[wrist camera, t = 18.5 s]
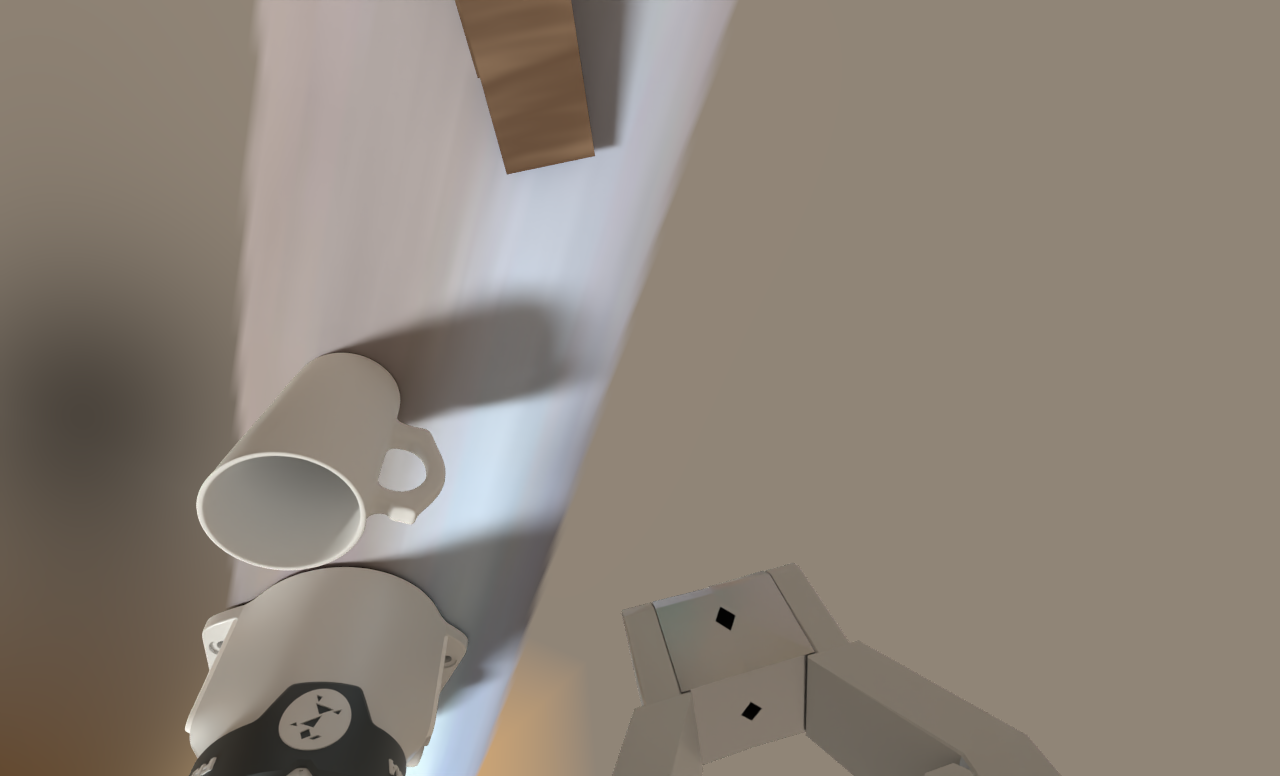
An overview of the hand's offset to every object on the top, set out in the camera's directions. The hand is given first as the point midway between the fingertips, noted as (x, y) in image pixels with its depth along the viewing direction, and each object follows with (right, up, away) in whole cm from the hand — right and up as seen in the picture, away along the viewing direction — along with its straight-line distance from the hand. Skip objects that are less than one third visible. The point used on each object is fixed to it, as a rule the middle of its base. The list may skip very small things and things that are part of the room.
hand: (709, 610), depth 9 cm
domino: (-6, +17, +22) cm, 28 cm away
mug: (-19, +3, +27) cm, 33 cm away
